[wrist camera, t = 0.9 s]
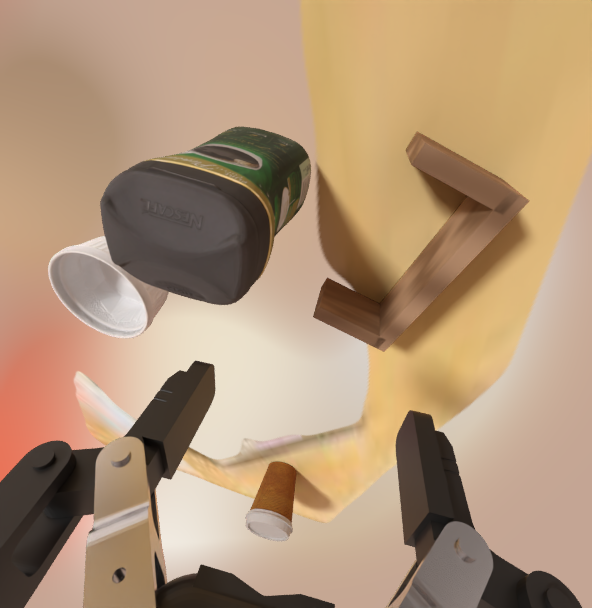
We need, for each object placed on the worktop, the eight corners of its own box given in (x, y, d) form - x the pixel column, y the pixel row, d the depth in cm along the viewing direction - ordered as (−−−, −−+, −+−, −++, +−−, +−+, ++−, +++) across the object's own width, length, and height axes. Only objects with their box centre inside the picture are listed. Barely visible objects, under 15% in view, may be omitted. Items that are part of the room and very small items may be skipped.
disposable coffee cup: (307, 482, 69) (295, 545, 60) (268, 477, 72) (251, 537, 63) (298, 459, 64) (284, 525, 55) (256, 455, 67) (236, 517, 57)
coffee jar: (219, 198, 34) (97, 289, 19) (223, 116, 29) (63, 155, 14) (303, 222, 33) (243, 334, 19) (321, 143, 28) (259, 211, 14)
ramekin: (89, 282, 46) (50, 309, 41) (89, 207, 38) (40, 228, 33) (169, 321, 48) (142, 353, 42) (186, 257, 40) (155, 285, 34)
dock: (417, 131, 26) (425, 142, 21) (503, 179, 27) (529, 201, 22) (321, 287, 38) (313, 316, 33) (383, 318, 38) (384, 351, 34)
